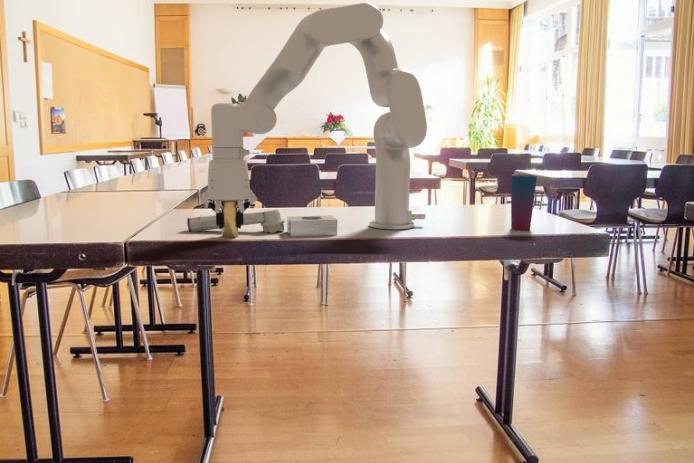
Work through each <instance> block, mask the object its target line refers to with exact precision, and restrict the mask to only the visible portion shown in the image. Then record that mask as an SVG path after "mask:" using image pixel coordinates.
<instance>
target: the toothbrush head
mask: <svg viewBox="0 0 694 463" xmlns="http://www.w3.org/2000/svg"><path fill="white" fill-rule="evenodd" d="M243 223H244V224H243V225H241V227H242V226H248V225H257V224H260V226H261V227H262V230H263V232H264V233H268V232H269V234H274V233H277V232H278V231H279V232H283V231H285V223H286V220H285V219H284V218H282V217H281V212H280V210H279V209H278V208H273V209H272V208H271V209H267V210H264V211H257V212H256V211H255V212H243ZM186 224H187V230H188V231H189V233H190V232H192V233H193V232H202V233H204V232H205V231H212V230H220V229H219V225H216V214H214V215H213V214H211V215H204V214H200V215H199V216H194V217H193V216H192V217H188V218H187V221H186Z"/></svg>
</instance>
